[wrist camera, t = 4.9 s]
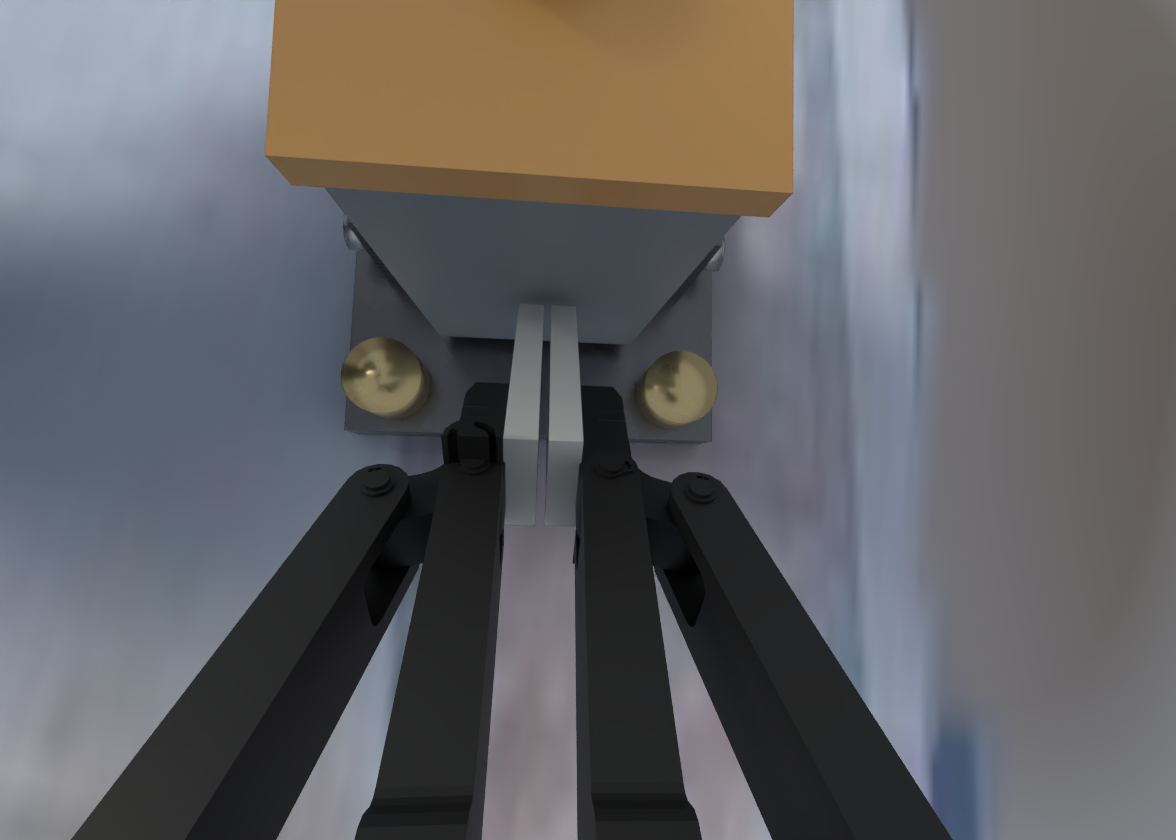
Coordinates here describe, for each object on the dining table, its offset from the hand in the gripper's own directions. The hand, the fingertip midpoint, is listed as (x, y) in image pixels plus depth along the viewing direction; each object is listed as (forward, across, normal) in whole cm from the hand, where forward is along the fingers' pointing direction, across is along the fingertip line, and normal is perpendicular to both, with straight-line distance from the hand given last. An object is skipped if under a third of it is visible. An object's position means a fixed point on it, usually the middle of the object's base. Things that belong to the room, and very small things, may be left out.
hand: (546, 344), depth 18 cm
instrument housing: (+9, 0, +1) cm, 9 cm away
